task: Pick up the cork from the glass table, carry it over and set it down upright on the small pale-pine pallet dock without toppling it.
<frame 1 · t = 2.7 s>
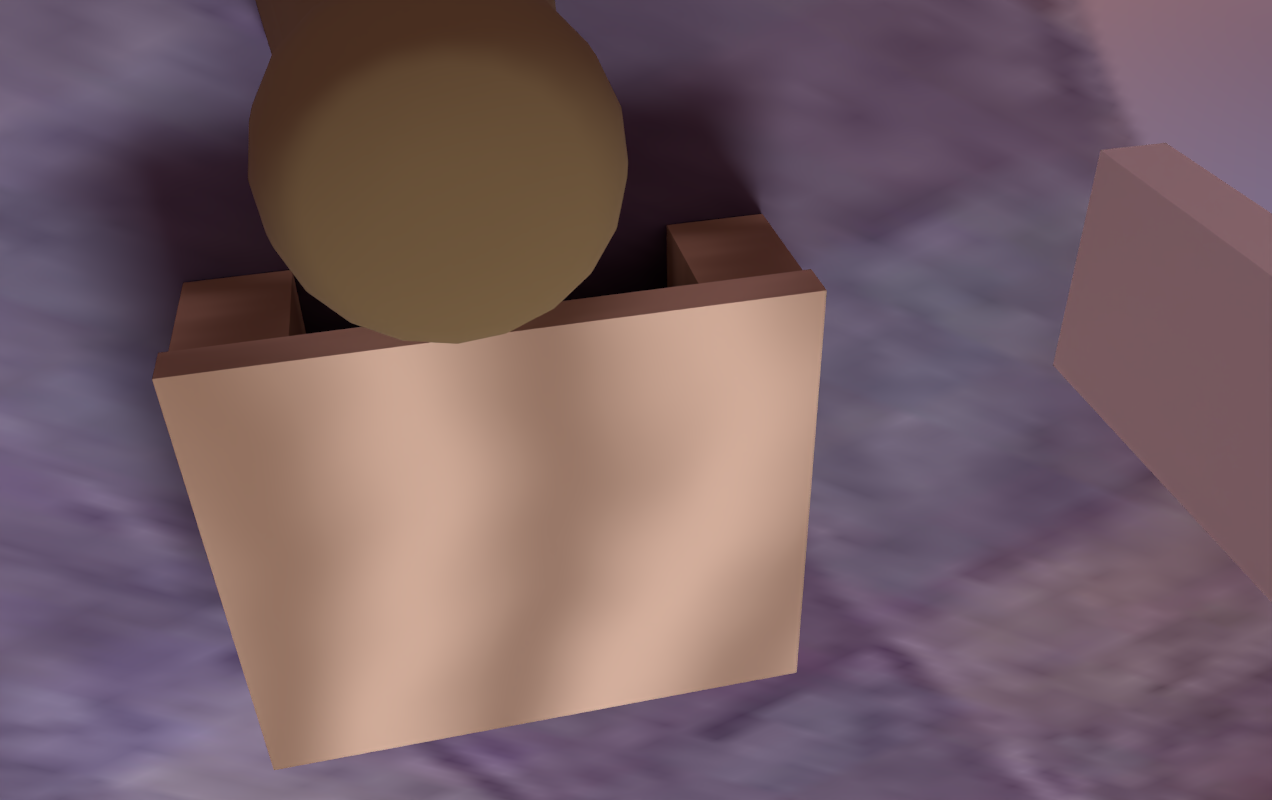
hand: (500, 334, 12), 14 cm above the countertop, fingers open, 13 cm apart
pallet dock: (506, 450, 31), on the countertop
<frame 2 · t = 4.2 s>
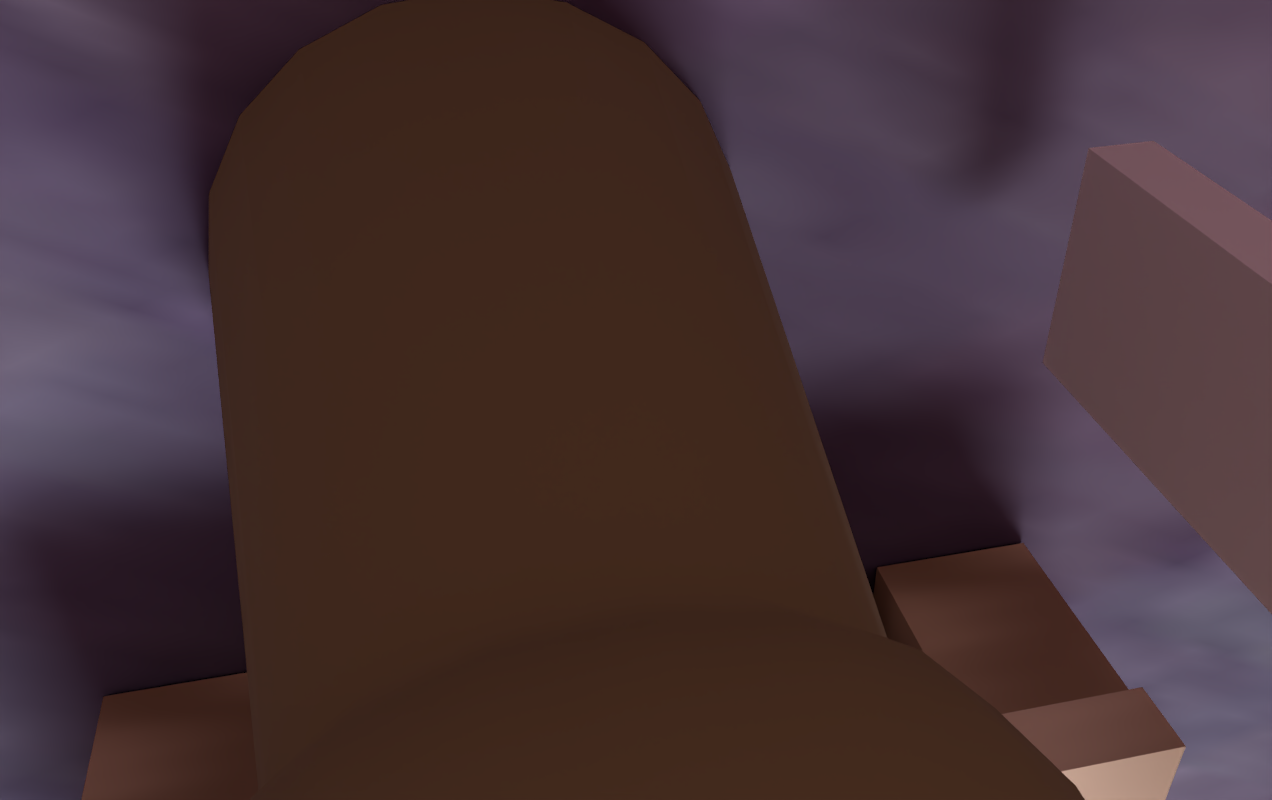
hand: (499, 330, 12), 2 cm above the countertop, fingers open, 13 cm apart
cork: (481, 249, 14), on the countertop
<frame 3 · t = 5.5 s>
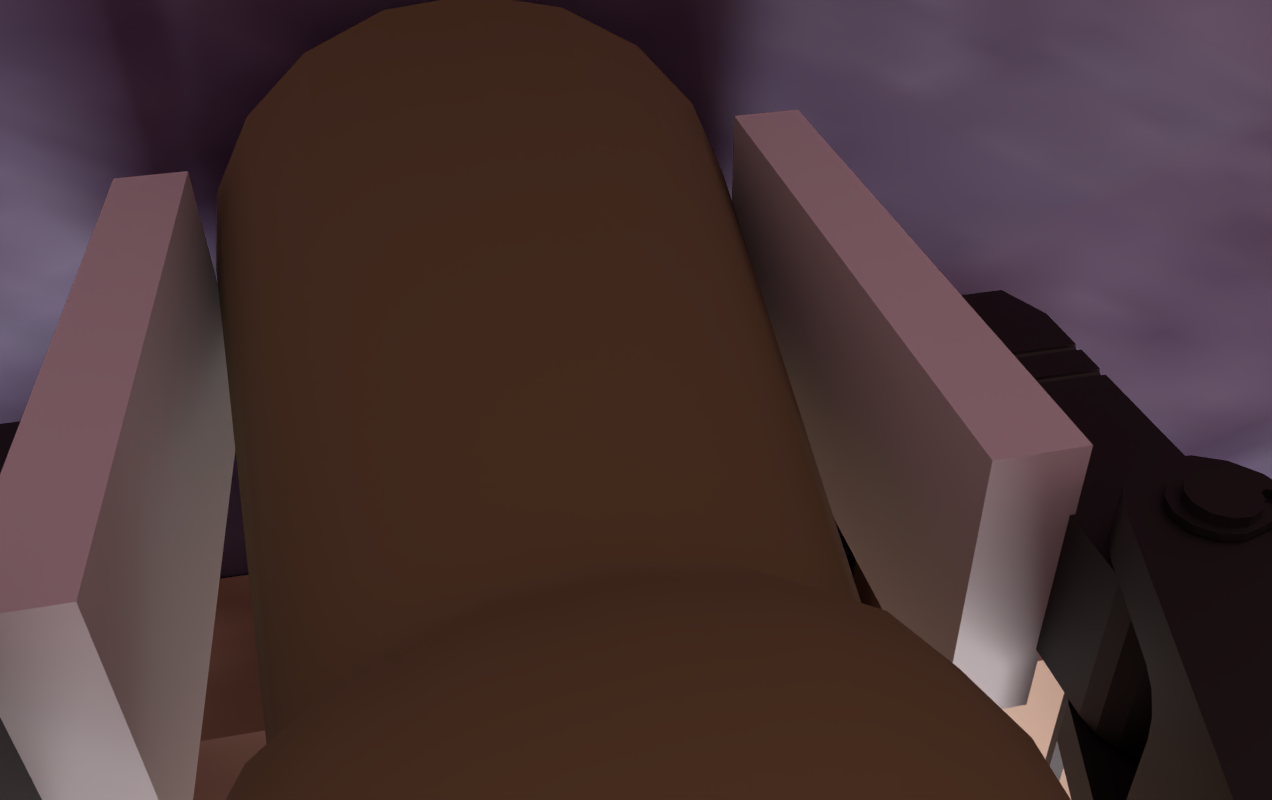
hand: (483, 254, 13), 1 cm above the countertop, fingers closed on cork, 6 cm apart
cork: (480, 246, 14), point 1 cm above the countertop, touching gripper
pallet dock: (608, 765, 22), on the countertop
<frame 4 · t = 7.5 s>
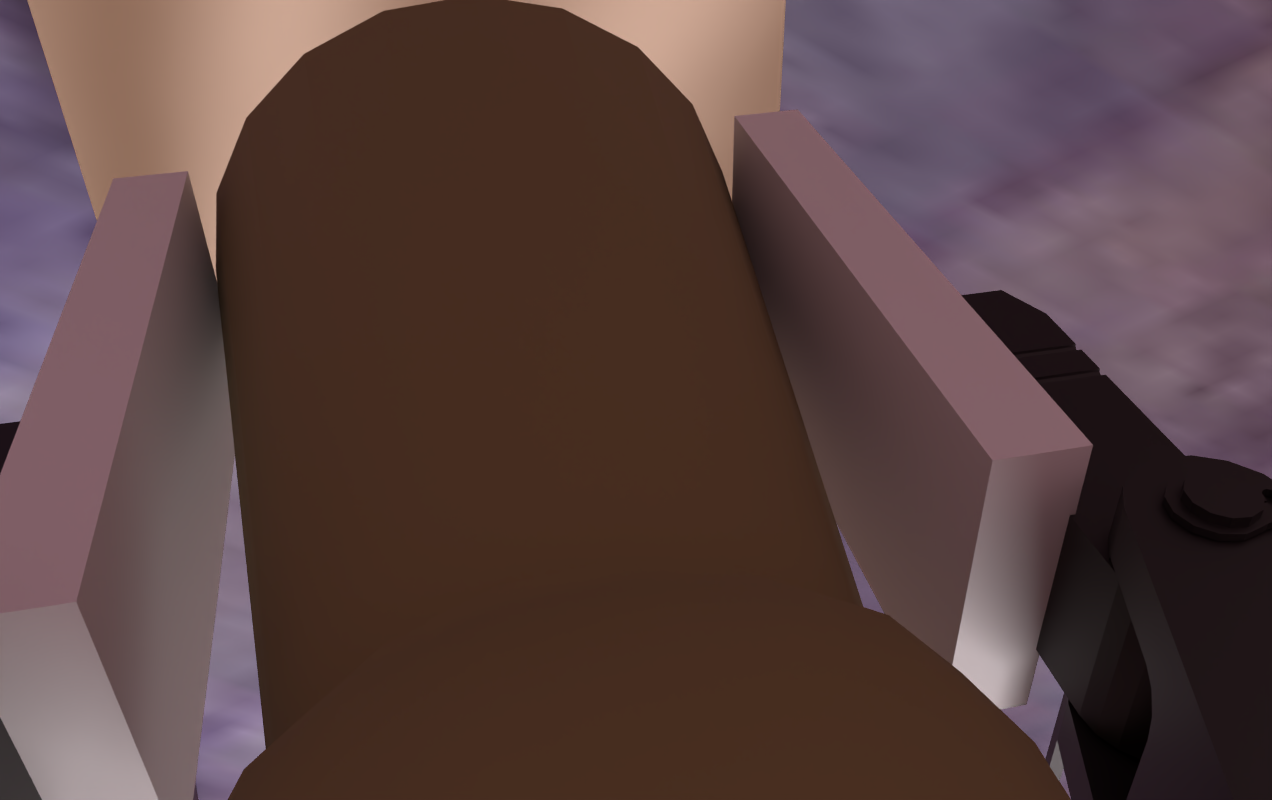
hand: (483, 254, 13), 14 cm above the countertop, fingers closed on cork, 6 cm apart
cork: (480, 247, 14), point 14 cm above the countertop, touching gripper
when the fingers open (5 cm above the countertop, at t = 9.8 s): cork stays where it is, resting on pallet dock.
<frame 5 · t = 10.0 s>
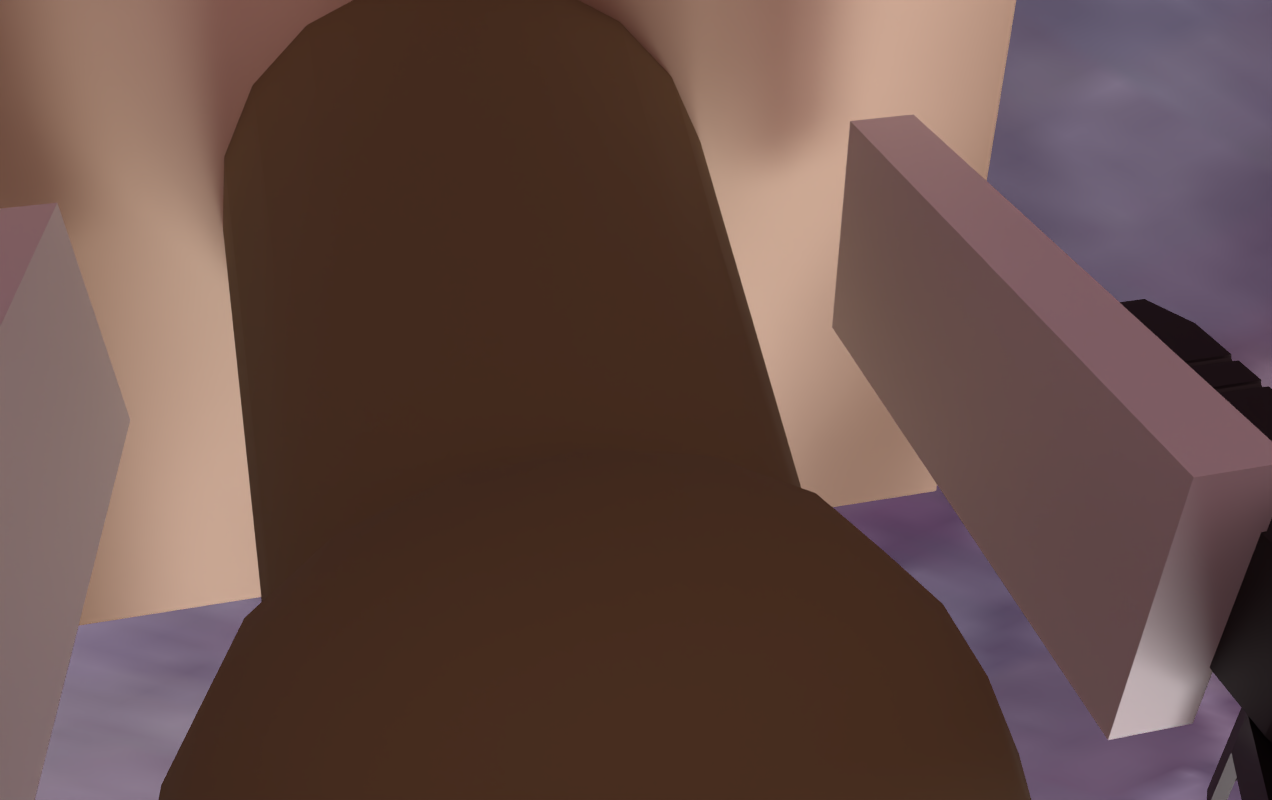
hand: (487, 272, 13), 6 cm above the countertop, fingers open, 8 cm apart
cork: (472, 212, 15), point 4 cm above the countertop, touching pallet dock
pallet dock: (448, 92, 18), on the countertop
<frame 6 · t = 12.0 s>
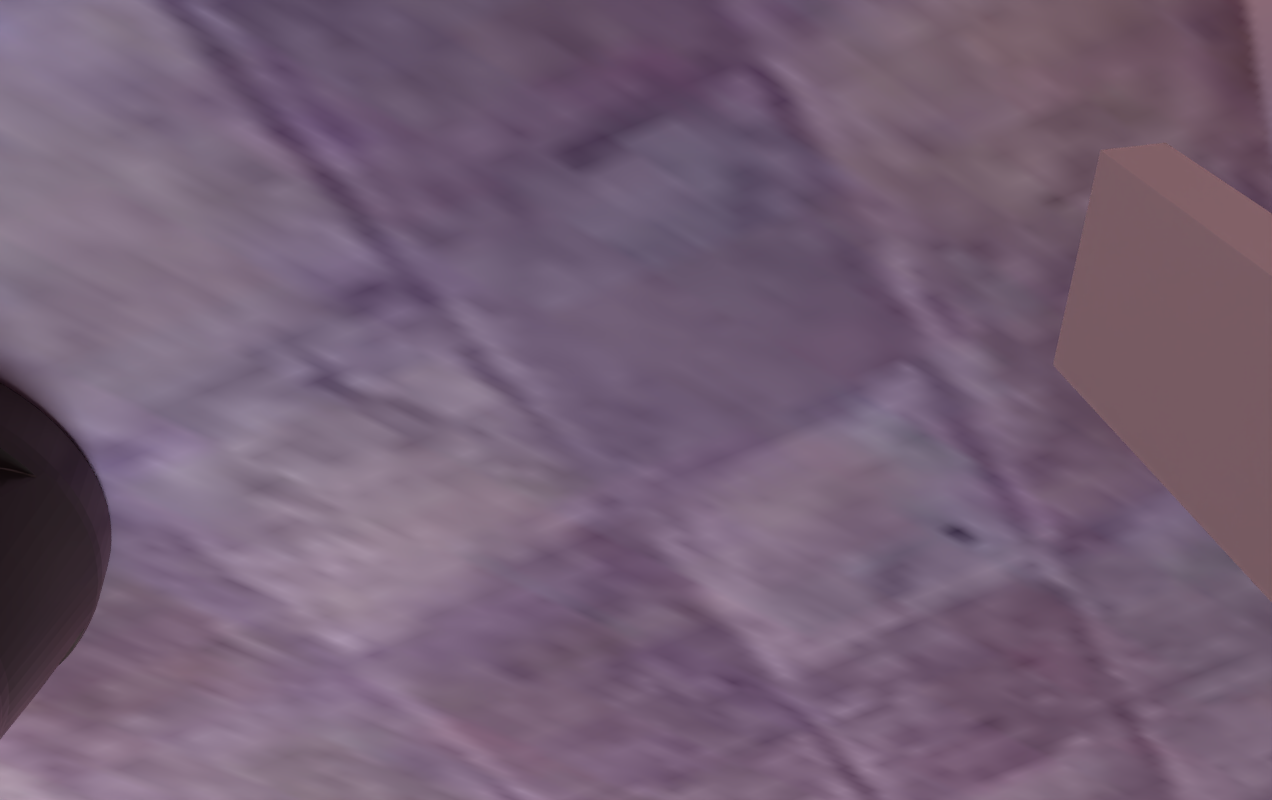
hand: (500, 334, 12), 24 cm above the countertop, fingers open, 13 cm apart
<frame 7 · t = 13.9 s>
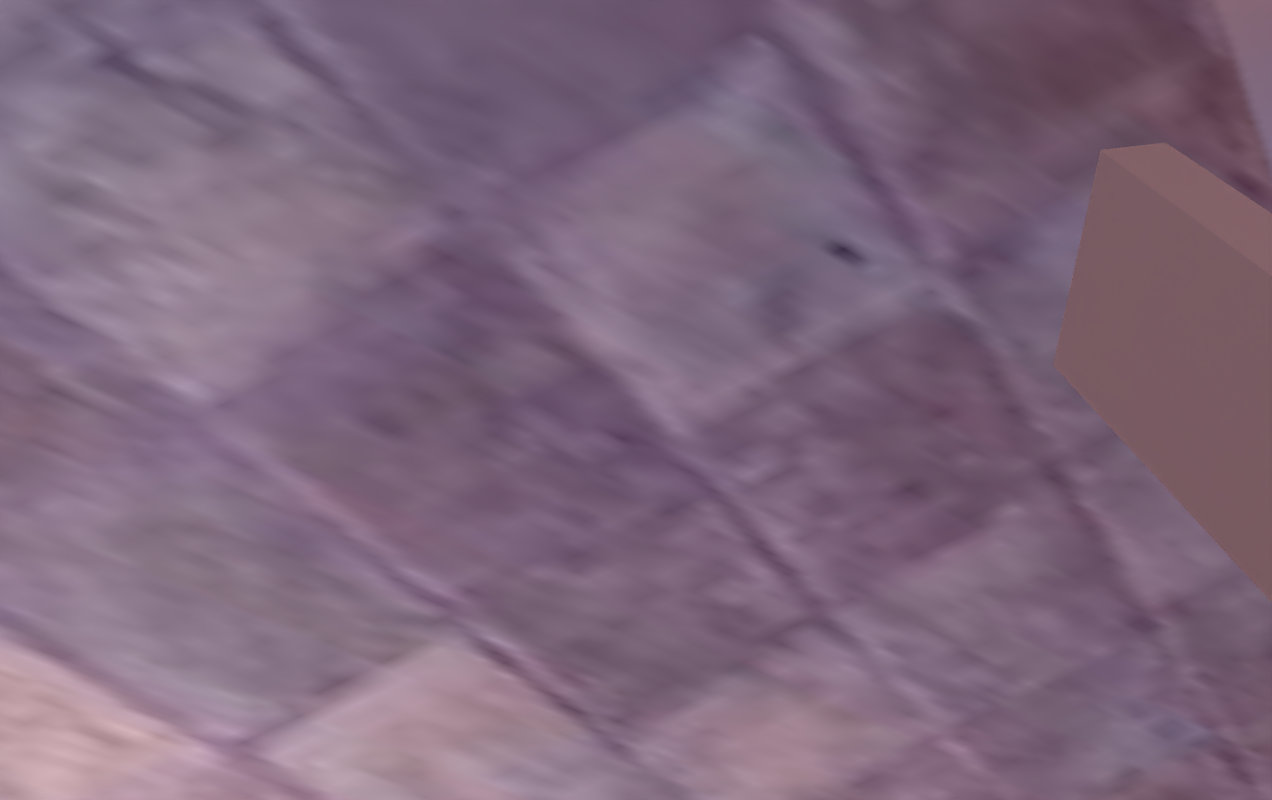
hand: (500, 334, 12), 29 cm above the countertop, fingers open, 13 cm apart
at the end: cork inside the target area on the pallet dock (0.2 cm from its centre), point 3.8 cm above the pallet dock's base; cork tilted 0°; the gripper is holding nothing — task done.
